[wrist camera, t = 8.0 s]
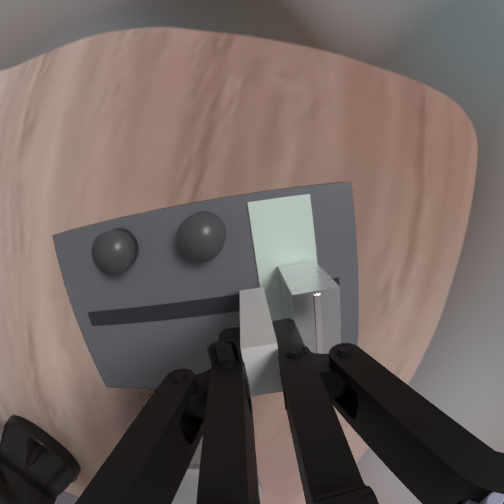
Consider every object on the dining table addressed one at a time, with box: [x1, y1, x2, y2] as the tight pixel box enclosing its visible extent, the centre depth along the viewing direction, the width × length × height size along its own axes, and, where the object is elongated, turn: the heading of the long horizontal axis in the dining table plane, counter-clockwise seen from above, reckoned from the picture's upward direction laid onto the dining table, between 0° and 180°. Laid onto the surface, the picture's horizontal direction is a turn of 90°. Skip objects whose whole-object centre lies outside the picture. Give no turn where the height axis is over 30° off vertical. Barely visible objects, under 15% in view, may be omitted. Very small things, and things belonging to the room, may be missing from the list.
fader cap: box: [278, 260, 341, 354], centre depth 16 cm, size 2×4×5 cm, turn 9°
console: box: [52, 182, 358, 388], centre depth 19 cm, size 22×14×4 cm, turn 98°
